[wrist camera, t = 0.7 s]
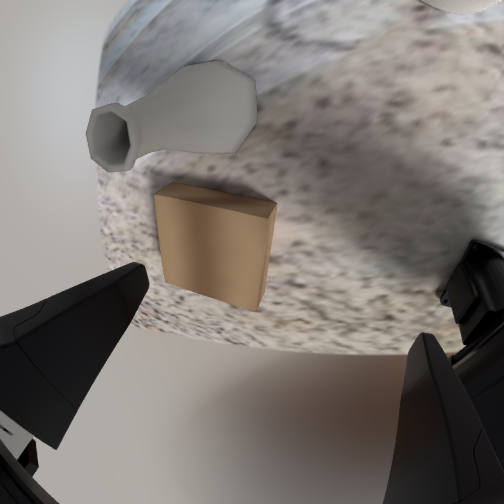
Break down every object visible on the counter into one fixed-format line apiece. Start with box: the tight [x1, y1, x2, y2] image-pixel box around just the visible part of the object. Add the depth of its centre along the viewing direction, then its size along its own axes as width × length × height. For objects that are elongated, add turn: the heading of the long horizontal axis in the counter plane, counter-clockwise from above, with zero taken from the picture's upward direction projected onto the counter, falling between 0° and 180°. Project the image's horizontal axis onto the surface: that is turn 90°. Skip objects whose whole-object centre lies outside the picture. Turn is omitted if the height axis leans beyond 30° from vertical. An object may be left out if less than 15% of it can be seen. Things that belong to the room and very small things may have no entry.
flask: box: [86, 60, 258, 172], centre depth 14 cm, size 7×7×10 cm
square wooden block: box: [154, 182, 277, 312], centre depth 23 cm, size 9×9×3 cm
